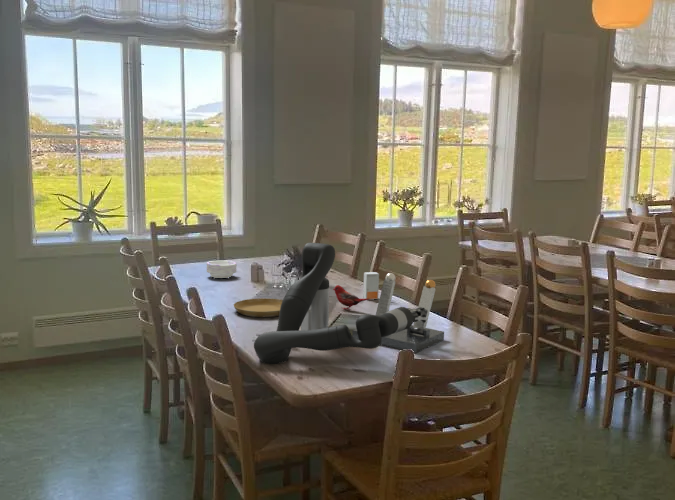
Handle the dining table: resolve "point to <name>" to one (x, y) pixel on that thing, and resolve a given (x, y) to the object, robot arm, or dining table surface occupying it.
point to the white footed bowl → (221, 268)
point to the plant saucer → (259, 307)
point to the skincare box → (370, 285)
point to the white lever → (386, 294)
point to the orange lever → (424, 306)
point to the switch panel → (410, 339)
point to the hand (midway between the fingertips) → (422, 310)
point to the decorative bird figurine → (346, 297)
